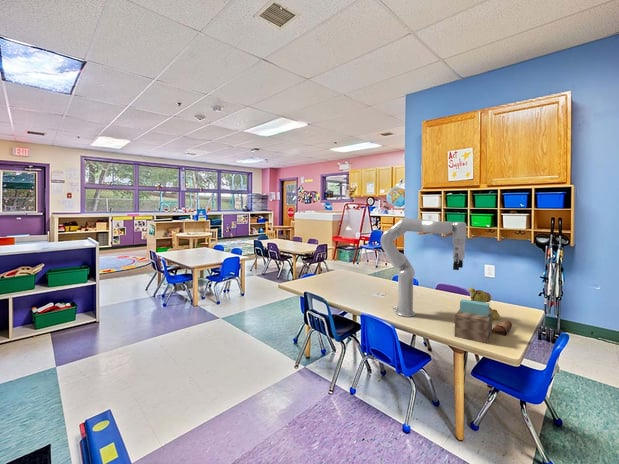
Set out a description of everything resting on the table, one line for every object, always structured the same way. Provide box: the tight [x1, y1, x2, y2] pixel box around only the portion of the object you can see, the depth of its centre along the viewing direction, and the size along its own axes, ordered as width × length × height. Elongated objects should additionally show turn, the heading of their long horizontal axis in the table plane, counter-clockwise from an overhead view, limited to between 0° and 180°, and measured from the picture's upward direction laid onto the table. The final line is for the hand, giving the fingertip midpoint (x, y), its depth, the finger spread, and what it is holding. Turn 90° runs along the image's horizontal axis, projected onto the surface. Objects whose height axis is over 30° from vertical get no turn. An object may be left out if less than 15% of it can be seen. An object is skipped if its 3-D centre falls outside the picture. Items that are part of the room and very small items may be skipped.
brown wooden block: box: [454, 308, 493, 345], centre depth 172 cm, size 16×20×12 cm
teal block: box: [459, 298, 490, 316], centre depth 171 cm, size 14×5×6 cm, turn 52°
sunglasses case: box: [491, 320, 513, 337], centre depth 178 cm, size 18×7×7 cm
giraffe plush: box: [468, 286, 500, 321], centre depth 198 cm, size 20×24×19 cm
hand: (457, 268), depth 191 cm, fingers open, 9 cm apart
